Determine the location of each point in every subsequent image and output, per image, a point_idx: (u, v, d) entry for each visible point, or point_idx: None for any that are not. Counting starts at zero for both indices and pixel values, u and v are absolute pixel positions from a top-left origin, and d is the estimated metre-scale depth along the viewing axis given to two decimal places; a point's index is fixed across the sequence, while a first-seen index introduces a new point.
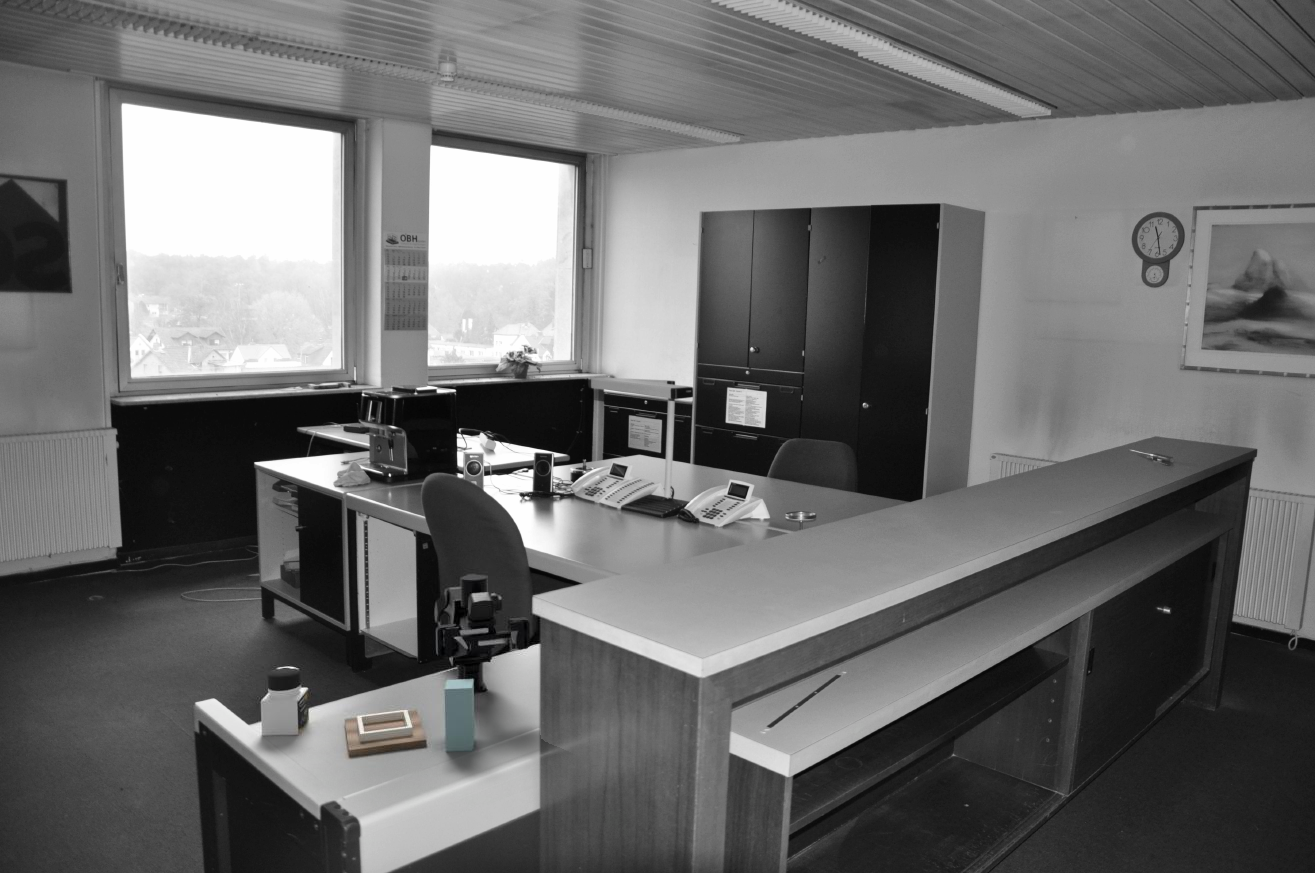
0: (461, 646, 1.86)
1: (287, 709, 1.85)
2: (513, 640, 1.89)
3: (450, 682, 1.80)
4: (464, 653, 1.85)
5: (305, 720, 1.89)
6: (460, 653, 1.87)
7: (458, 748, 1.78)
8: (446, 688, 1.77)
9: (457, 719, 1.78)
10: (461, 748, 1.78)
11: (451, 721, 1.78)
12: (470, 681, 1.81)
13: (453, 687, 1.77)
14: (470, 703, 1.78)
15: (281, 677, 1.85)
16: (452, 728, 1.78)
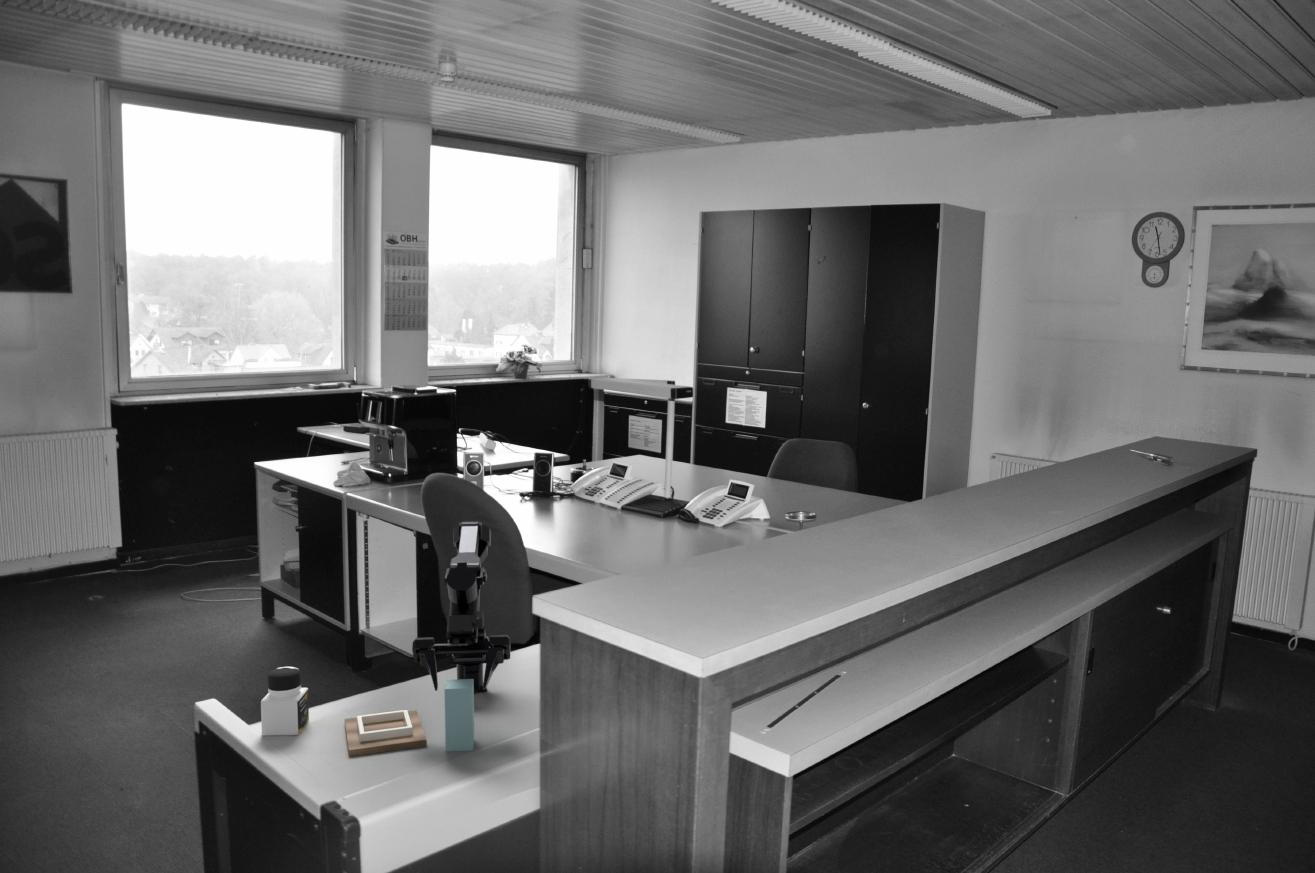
0: (432, 678, 1.83)
1: (287, 709, 1.85)
2: (485, 678, 1.84)
3: (450, 682, 1.80)
4: None
5: (305, 720, 1.89)
6: None
7: (458, 748, 1.78)
8: (446, 688, 1.77)
9: (457, 719, 1.78)
10: (461, 748, 1.78)
11: (451, 721, 1.78)
12: (470, 681, 1.81)
13: (453, 687, 1.77)
14: (470, 703, 1.78)
15: (281, 677, 1.85)
16: (452, 728, 1.78)
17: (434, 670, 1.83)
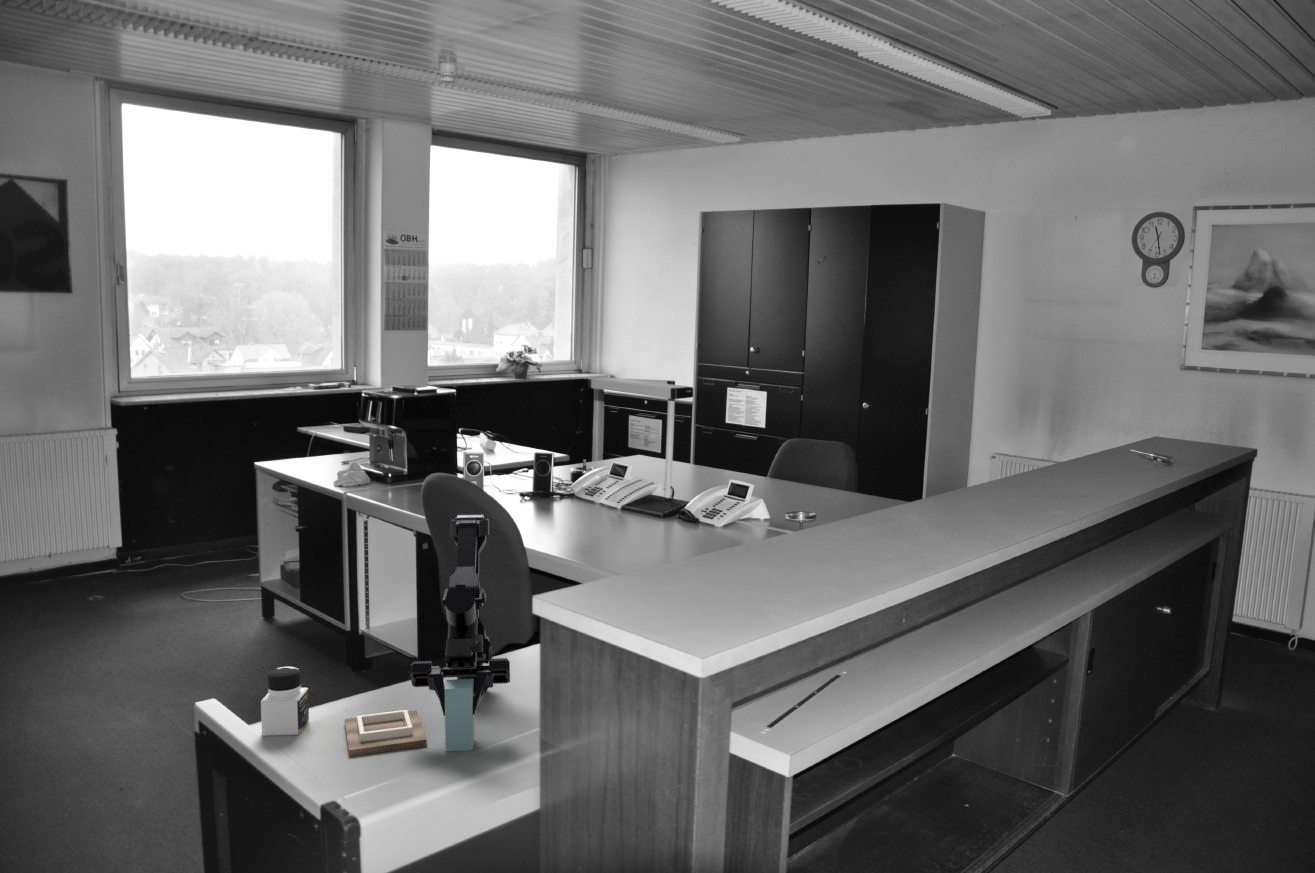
0: (440, 703, 1.79)
1: (287, 709, 1.85)
2: (474, 704, 1.79)
3: (450, 682, 1.80)
4: None
5: (305, 720, 1.89)
6: None
7: (458, 748, 1.78)
8: (446, 688, 1.77)
9: (457, 718, 1.78)
10: (461, 748, 1.78)
11: (451, 721, 1.78)
12: (470, 681, 1.81)
13: (453, 687, 1.77)
14: (470, 703, 1.78)
15: (281, 677, 1.85)
16: (452, 728, 1.78)
17: (443, 695, 1.80)
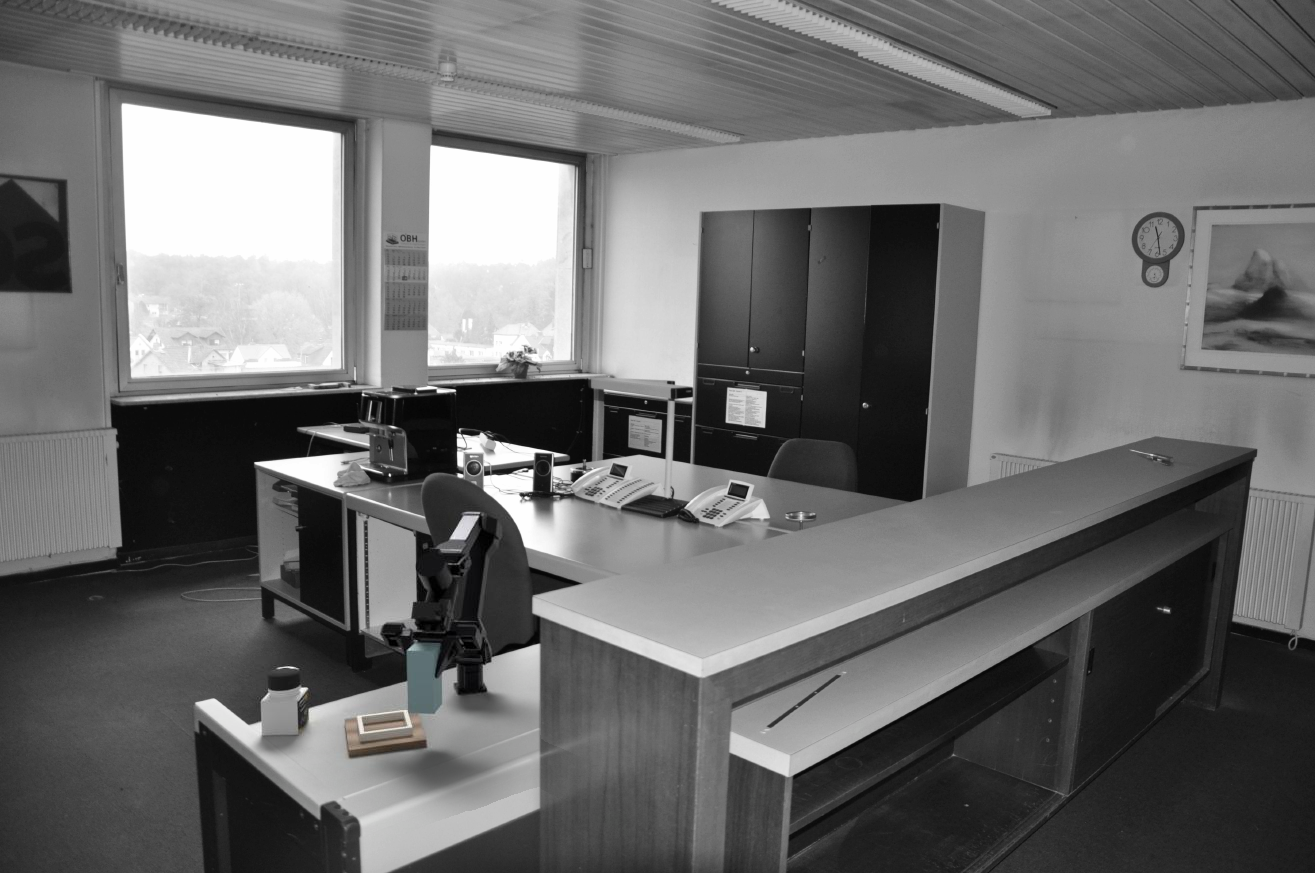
0: None
1: (287, 709, 1.85)
2: (437, 668, 1.79)
3: (416, 644, 1.81)
4: None
5: (305, 720, 1.89)
6: None
7: (420, 710, 1.79)
8: (408, 650, 1.78)
9: (419, 681, 1.78)
10: (423, 711, 1.79)
11: (413, 683, 1.78)
12: (436, 645, 1.81)
13: (415, 650, 1.78)
14: (431, 666, 1.78)
15: (281, 677, 1.85)
16: (414, 690, 1.78)
17: None
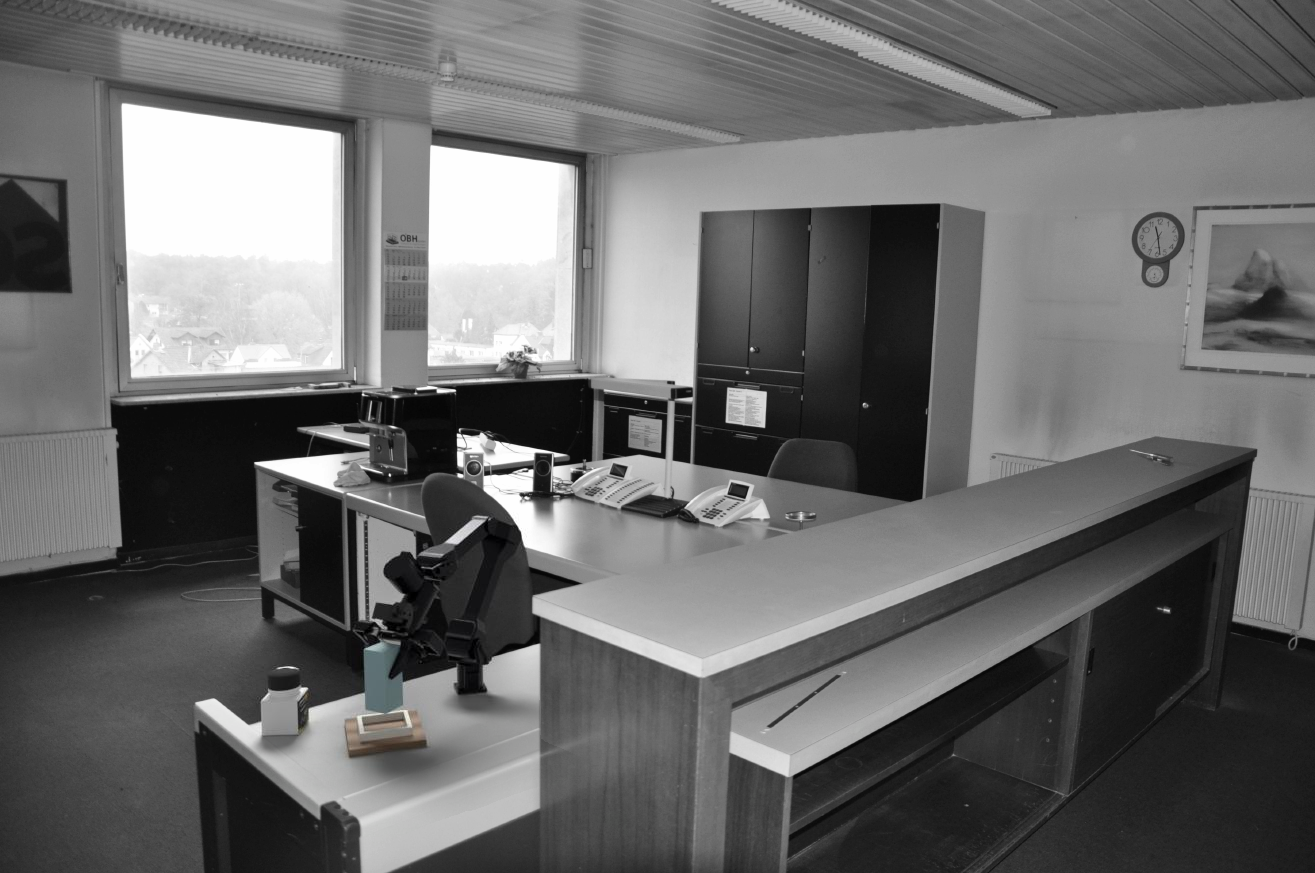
0: None
1: (287, 709, 1.85)
2: (391, 669, 1.82)
3: (379, 644, 1.86)
4: None
5: (305, 720, 1.89)
6: None
7: (375, 709, 1.83)
8: (366, 649, 1.83)
9: (374, 680, 1.82)
10: (377, 710, 1.83)
11: (369, 682, 1.83)
12: (394, 646, 1.84)
13: (371, 649, 1.82)
14: (383, 667, 1.81)
15: (281, 677, 1.85)
16: (370, 688, 1.83)
17: None
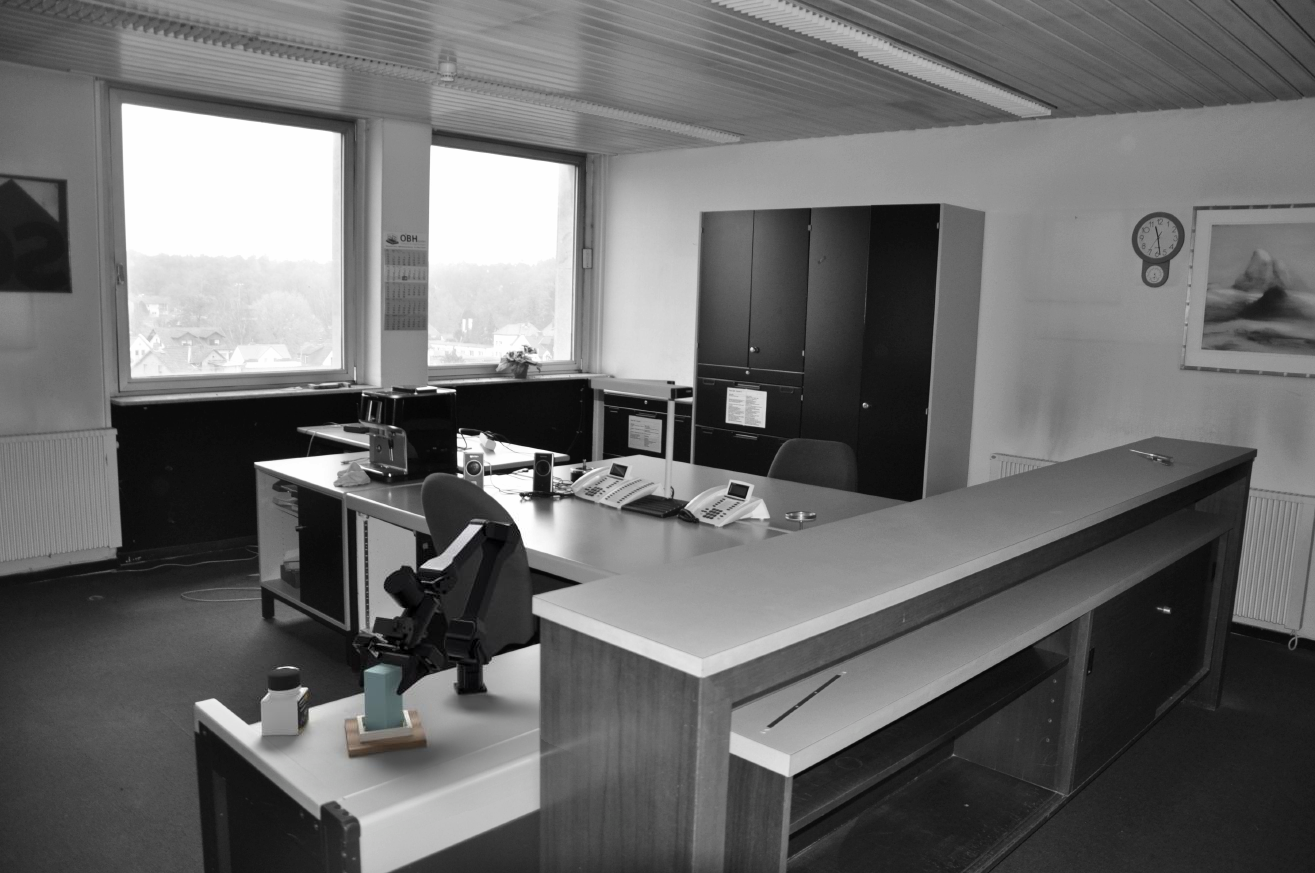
0: None
1: (287, 709, 1.85)
2: (399, 685, 1.82)
3: (379, 665, 1.86)
4: None
5: (305, 720, 1.89)
6: None
7: None
8: (366, 670, 1.83)
9: (374, 702, 1.83)
10: None
11: (369, 703, 1.83)
12: (395, 668, 1.85)
13: (371, 671, 1.83)
14: (383, 689, 1.81)
15: (281, 677, 1.85)
16: (370, 710, 1.83)
17: (363, 668, 1.87)
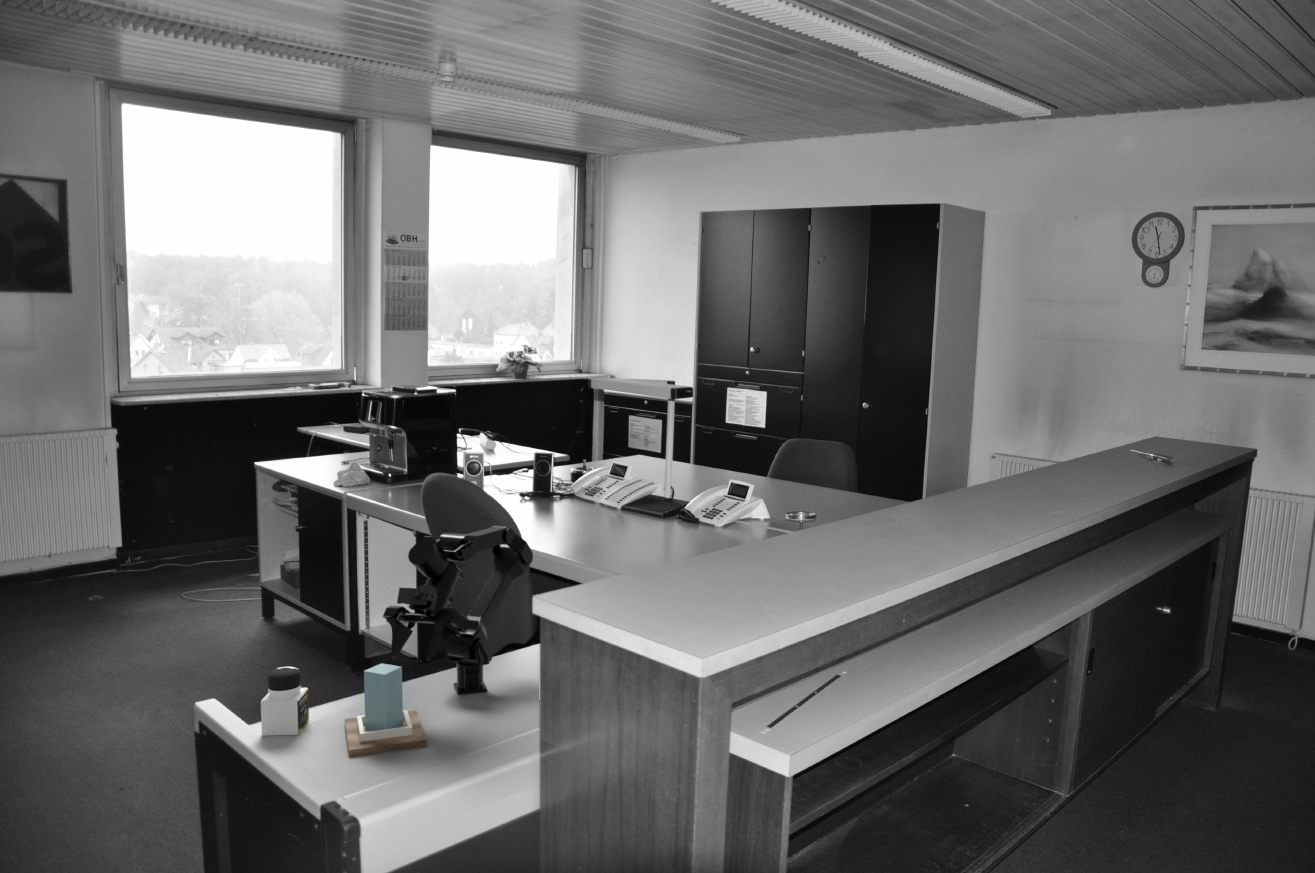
0: None
1: (287, 709, 1.85)
2: (428, 650, 1.88)
3: (379, 665, 1.86)
4: None
5: (305, 720, 1.89)
6: None
7: None
8: (366, 670, 1.83)
9: (374, 702, 1.83)
10: None
11: (369, 703, 1.83)
12: (395, 668, 1.85)
13: (371, 671, 1.83)
14: (383, 689, 1.81)
15: (281, 677, 1.85)
16: (370, 710, 1.83)
17: (394, 638, 1.94)
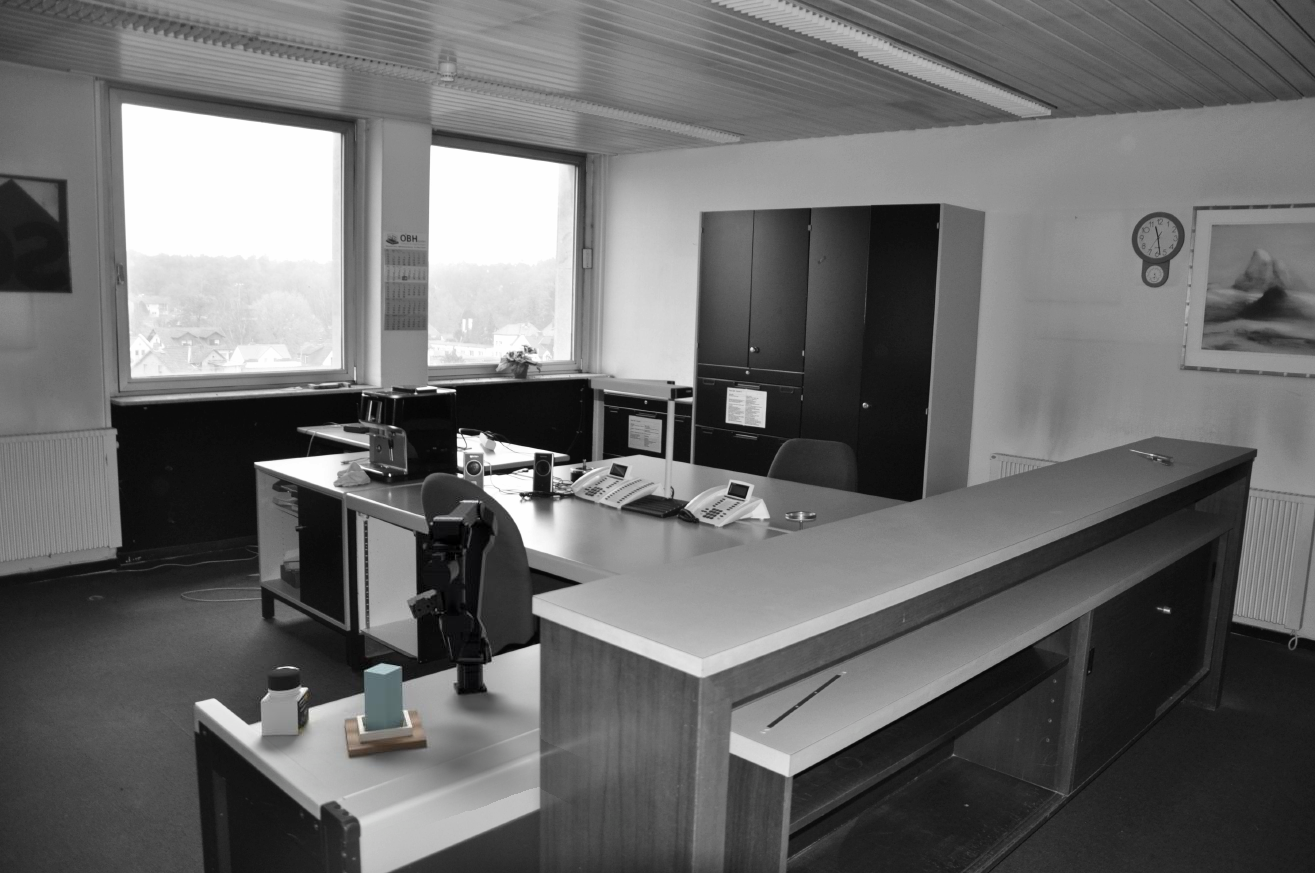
0: None
1: (287, 709, 1.85)
2: (451, 652, 1.90)
3: (379, 665, 1.86)
4: None
5: (305, 720, 1.89)
6: None
7: None
8: (366, 670, 1.83)
9: (374, 702, 1.83)
10: None
11: (369, 703, 1.83)
12: (395, 668, 1.85)
13: (371, 671, 1.83)
14: (383, 689, 1.81)
15: (281, 677, 1.85)
16: (370, 710, 1.83)
17: None
